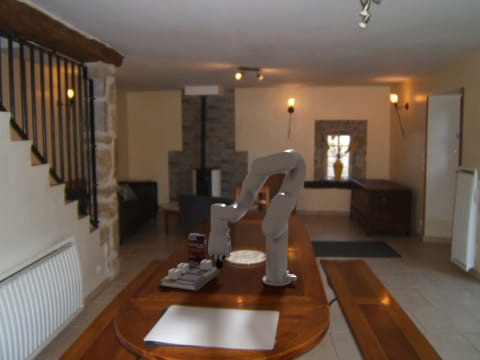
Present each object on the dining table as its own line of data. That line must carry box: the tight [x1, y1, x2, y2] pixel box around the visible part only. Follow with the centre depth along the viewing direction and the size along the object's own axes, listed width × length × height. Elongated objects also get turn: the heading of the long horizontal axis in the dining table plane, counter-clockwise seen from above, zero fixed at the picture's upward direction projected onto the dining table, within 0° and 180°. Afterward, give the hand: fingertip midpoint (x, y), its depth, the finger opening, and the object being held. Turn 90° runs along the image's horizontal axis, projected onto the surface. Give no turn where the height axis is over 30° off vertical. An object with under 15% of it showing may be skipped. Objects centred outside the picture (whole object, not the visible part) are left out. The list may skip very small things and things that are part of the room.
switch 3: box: [200, 259, 213, 270], centre depth 196 cm, size 4×4×4 cm
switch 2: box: [176, 262, 189, 274], centre depth 191 cm, size 4×4×4 cm
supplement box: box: [187, 232, 208, 265], centre depth 209 cm, size 9×5×16 cm, turn 78°
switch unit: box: [159, 263, 220, 292], centre depth 190 cm, size 18×24×3 cm
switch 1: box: [167, 267, 181, 280], centre depth 184 cm, size 4×4×4 cm
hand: (219, 268), depth 193 cm, fingers closed
